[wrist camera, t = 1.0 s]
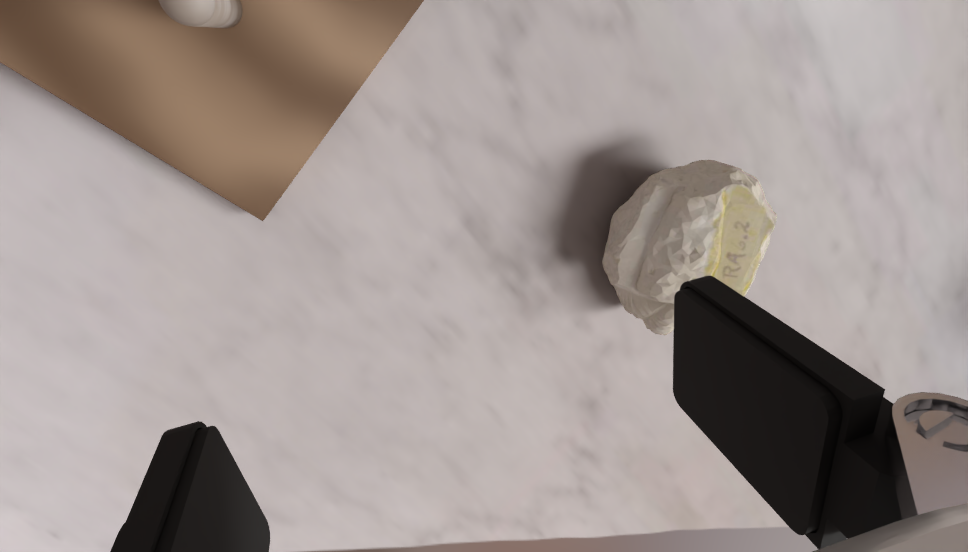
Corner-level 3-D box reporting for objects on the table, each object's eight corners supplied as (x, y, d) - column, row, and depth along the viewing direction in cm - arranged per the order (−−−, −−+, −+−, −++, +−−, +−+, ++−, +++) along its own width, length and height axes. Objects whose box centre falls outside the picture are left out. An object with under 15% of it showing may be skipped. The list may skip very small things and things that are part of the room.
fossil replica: (597, 322, 41) (702, 269, 42) (667, 388, 34) (789, 321, 36) (569, 185, 34) (695, 128, 36) (649, 232, 27) (799, 159, 29)
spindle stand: (172, -283, 21) (75, -481, 13) (435, -20, 28) (480, -43, 20) (-15, 41, 24) (-193, 45, 16) (265, 213, 30) (243, 279, 22)
